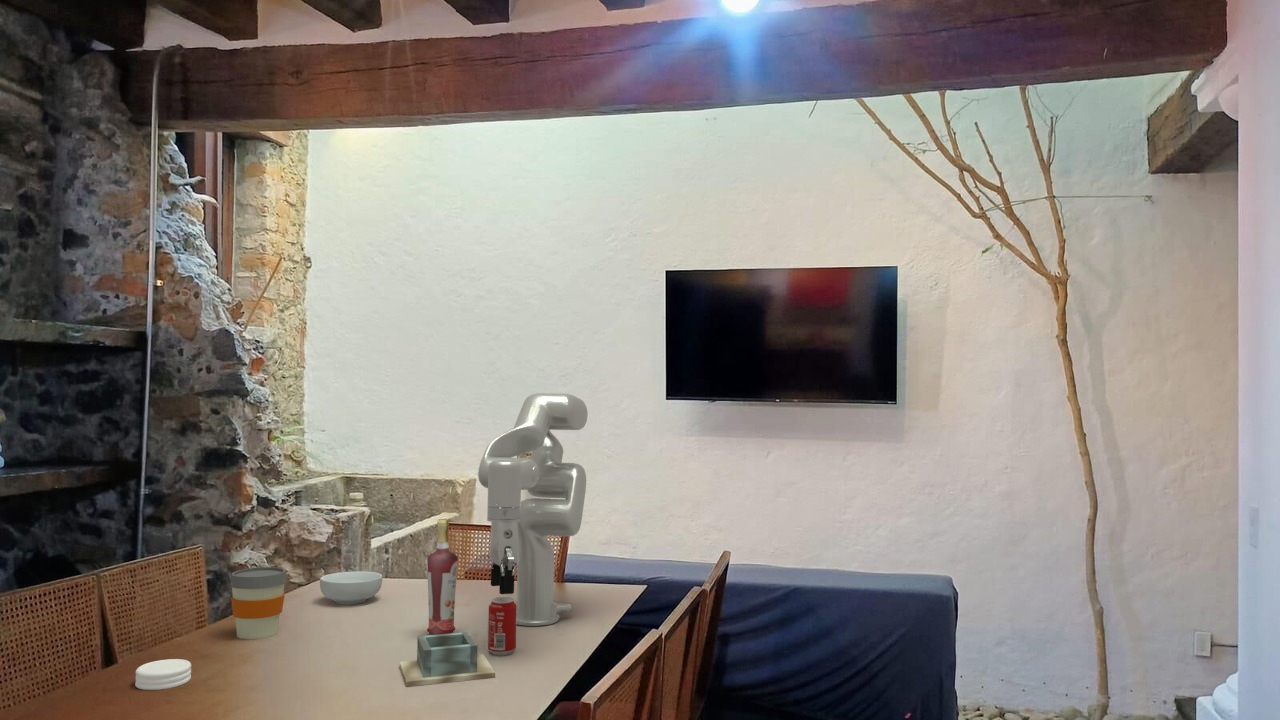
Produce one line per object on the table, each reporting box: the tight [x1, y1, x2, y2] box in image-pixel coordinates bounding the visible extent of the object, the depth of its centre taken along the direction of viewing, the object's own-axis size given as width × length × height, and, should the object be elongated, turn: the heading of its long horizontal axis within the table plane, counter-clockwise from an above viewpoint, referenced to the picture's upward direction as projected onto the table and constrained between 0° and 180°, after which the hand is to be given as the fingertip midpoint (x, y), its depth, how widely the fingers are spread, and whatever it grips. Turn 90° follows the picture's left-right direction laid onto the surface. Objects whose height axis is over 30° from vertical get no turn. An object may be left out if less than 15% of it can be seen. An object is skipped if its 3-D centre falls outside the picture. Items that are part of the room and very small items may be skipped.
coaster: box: [134, 658, 192, 691], centre depth 179 cm, size 10×10×4 cm
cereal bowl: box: [319, 570, 383, 605], centre depth 248 cm, size 17×17×7 cm
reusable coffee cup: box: [230, 566, 287, 640], centre depth 214 cm, size 13×13×15 cm
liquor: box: [426, 518, 458, 635], centre depth 215 cm, size 7×7×28 cm
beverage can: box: [487, 596, 517, 656], centre depth 201 cm, size 6×6×12 cm
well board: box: [399, 631, 496, 688], centre depth 187 cm, size 18×14×6 cm
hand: (502, 589), depth 201 cm, fingers open, 9 cm apart
